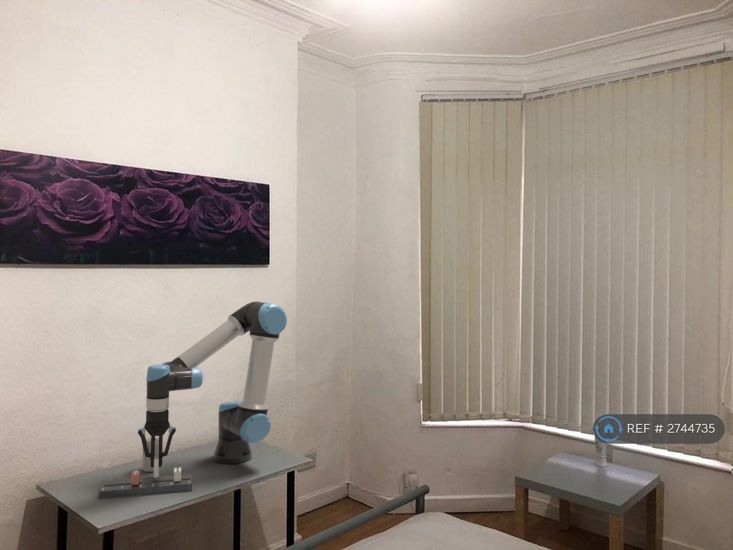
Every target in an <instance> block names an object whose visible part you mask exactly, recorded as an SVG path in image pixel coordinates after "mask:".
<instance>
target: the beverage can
mask: <svg viewBox="0 0 733 550" xmlns="http://www.w3.org/2000/svg"><path fill="white" fill-rule="evenodd" d="M146 441H147V445H148V449H149V453H151V436H150V437H146ZM156 456H159V436H155V457H156ZM159 469H161V467H159ZM142 470H143V471H144V472H145V473H154V467H151V459H150V458H149V457H146V456H145V453H144V449H143V448H142Z"/></svg>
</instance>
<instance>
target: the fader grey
mask: <svg viewBox="0 0 733 550" xmlns="http://www.w3.org/2000/svg"><path fill="white" fill-rule="evenodd" d="M173 475H174V482H176V481H181V475H182V467H178V466H177V467H174V468H173Z"/></svg>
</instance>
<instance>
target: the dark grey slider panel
mask: <svg viewBox="0 0 733 550" xmlns="http://www.w3.org/2000/svg"><path fill="white" fill-rule="evenodd" d="M181 492H182V493H183V492H185V493H186V492H193V473H188V474H187V473H186V474H181V481H176V482H174V474H173V475H172V474H171V475H161V476H160V475H158V477H154V476H149V477H147V476H146V477H140V481H139V485H131V478H124V479H123V478H122V479H110V480H109V479H108V480H103V481H102V484H101V486H100V489H99V493H98V494H99V495H98V497H99V500H100V499H113V498H126V497H135V496H136V497H139V496H149V495H150V496H151V495H160V494H172V493H181Z"/></svg>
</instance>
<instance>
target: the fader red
mask: <svg viewBox="0 0 733 550" xmlns="http://www.w3.org/2000/svg"><path fill="white" fill-rule="evenodd" d="M140 473H141V471H140V470H132V471H131V478H130V479H131V485H139V481H140V478H141V477H140V476H141V474H140Z"/></svg>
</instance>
